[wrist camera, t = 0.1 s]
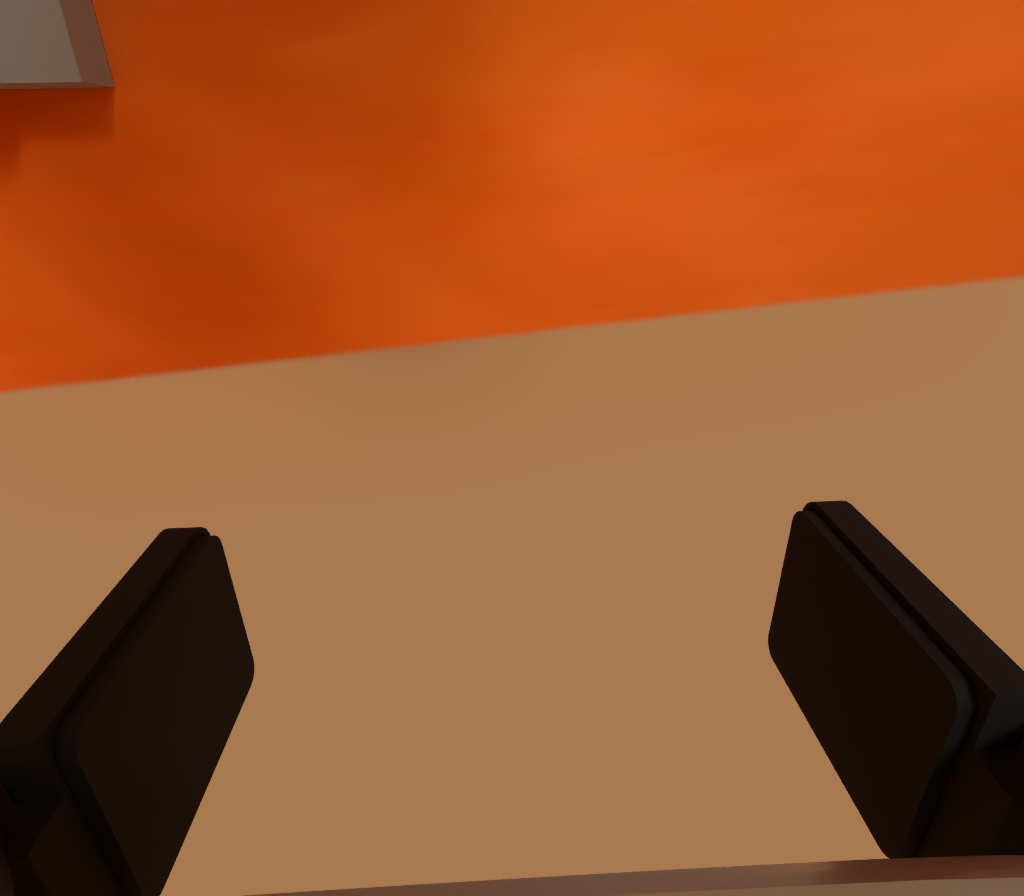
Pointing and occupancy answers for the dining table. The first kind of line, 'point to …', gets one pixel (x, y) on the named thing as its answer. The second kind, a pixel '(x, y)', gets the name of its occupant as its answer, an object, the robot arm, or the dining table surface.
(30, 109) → the dining table surface
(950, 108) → the dining table surface
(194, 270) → the dining table surface
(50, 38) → the dock
